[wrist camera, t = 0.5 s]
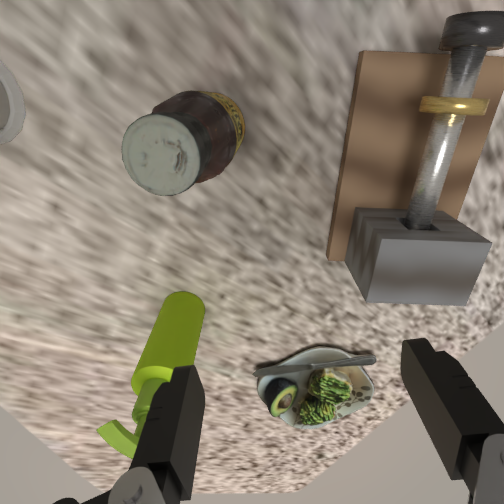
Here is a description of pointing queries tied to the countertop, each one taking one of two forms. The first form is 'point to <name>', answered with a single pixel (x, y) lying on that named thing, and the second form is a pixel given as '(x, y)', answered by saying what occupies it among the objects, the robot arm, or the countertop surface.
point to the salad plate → (316, 386)
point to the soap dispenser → (159, 363)
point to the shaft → (452, 105)
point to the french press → (10, 105)
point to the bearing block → (407, 183)
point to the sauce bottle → (183, 142)
